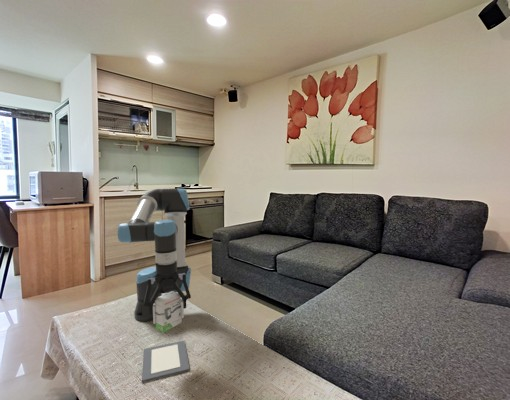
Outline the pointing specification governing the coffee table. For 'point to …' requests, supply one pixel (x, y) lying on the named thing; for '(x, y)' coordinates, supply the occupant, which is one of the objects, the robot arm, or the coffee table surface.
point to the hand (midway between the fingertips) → (168, 319)
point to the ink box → (168, 311)
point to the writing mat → (164, 361)
